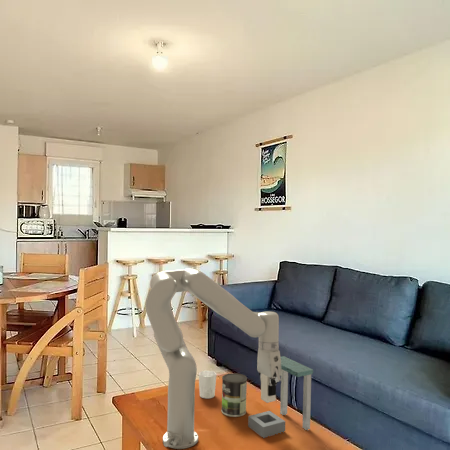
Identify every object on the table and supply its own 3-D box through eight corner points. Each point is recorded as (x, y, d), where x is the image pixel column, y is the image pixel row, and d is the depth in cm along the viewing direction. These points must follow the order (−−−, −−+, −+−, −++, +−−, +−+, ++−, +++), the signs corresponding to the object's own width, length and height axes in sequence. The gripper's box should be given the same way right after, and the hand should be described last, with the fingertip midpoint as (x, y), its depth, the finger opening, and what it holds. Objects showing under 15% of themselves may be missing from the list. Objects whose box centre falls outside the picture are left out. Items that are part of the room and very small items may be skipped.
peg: (267, 402, 160) (267, 376, 160) (260, 398, 164) (261, 372, 164) (275, 400, 162) (275, 374, 162) (269, 396, 166) (269, 371, 166)
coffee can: (228, 419, 171) (229, 383, 170) (217, 408, 180) (217, 375, 180) (251, 414, 175) (251, 379, 175) (238, 404, 184) (239, 371, 184)
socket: (263, 438, 156) (263, 427, 156) (248, 426, 165) (248, 415, 165) (285, 431, 161) (285, 421, 161) (269, 420, 170) (269, 410, 170)
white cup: (195, 393, 195) (196, 371, 195) (211, 391, 198) (212, 369, 198) (202, 400, 188) (202, 377, 188) (218, 397, 191) (219, 375, 191)
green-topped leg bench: (296, 435, 159) (297, 372, 158) (267, 415, 174) (269, 358, 174) (311, 430, 162) (313, 369, 162) (282, 411, 178) (283, 356, 178)
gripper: (290, 349, 157) (290, 399, 158) (264, 338, 172) (263, 383, 172) (273, 352, 154) (273, 403, 154) (248, 340, 168) (248, 387, 168)
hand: (268, 392), depth 163 cm, fingers closed on peg, 4 cm apart
